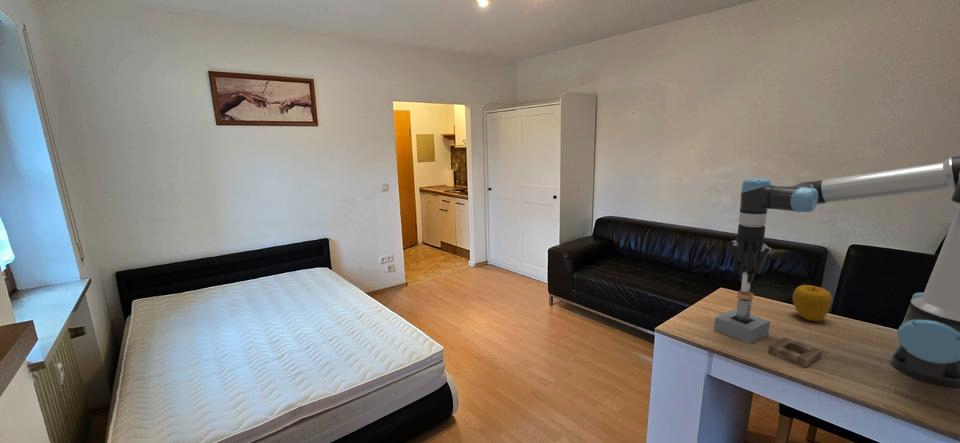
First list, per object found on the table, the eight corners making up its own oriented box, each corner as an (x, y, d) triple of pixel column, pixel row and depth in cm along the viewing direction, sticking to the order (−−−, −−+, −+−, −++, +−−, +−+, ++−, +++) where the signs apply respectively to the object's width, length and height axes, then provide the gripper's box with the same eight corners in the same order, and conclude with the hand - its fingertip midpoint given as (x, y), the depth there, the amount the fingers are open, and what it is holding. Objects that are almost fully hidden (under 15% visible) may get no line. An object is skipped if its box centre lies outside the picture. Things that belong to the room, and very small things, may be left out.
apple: (783, 314, 149) (787, 283, 147) (804, 310, 152) (808, 279, 149) (814, 327, 139) (819, 293, 136) (836, 322, 142) (841, 289, 139)
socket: (768, 334, 135) (770, 321, 134) (749, 344, 130) (751, 330, 129) (732, 321, 146) (734, 309, 145) (714, 329, 140) (715, 317, 139)
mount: (821, 357, 120) (822, 350, 120) (805, 367, 116) (806, 360, 115) (783, 344, 129) (784, 337, 128) (768, 352, 124) (769, 345, 124)
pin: (751, 333, 137) (756, 293, 134) (744, 336, 135) (748, 296, 132) (738, 328, 141) (742, 289, 138) (731, 331, 139) (734, 292, 136)
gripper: (779, 226, 126) (772, 293, 131) (737, 220, 137) (732, 282, 142) (767, 229, 122) (760, 299, 127) (725, 223, 134) (720, 287, 138)
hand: (745, 290), depth 135 cm, fingers closed
